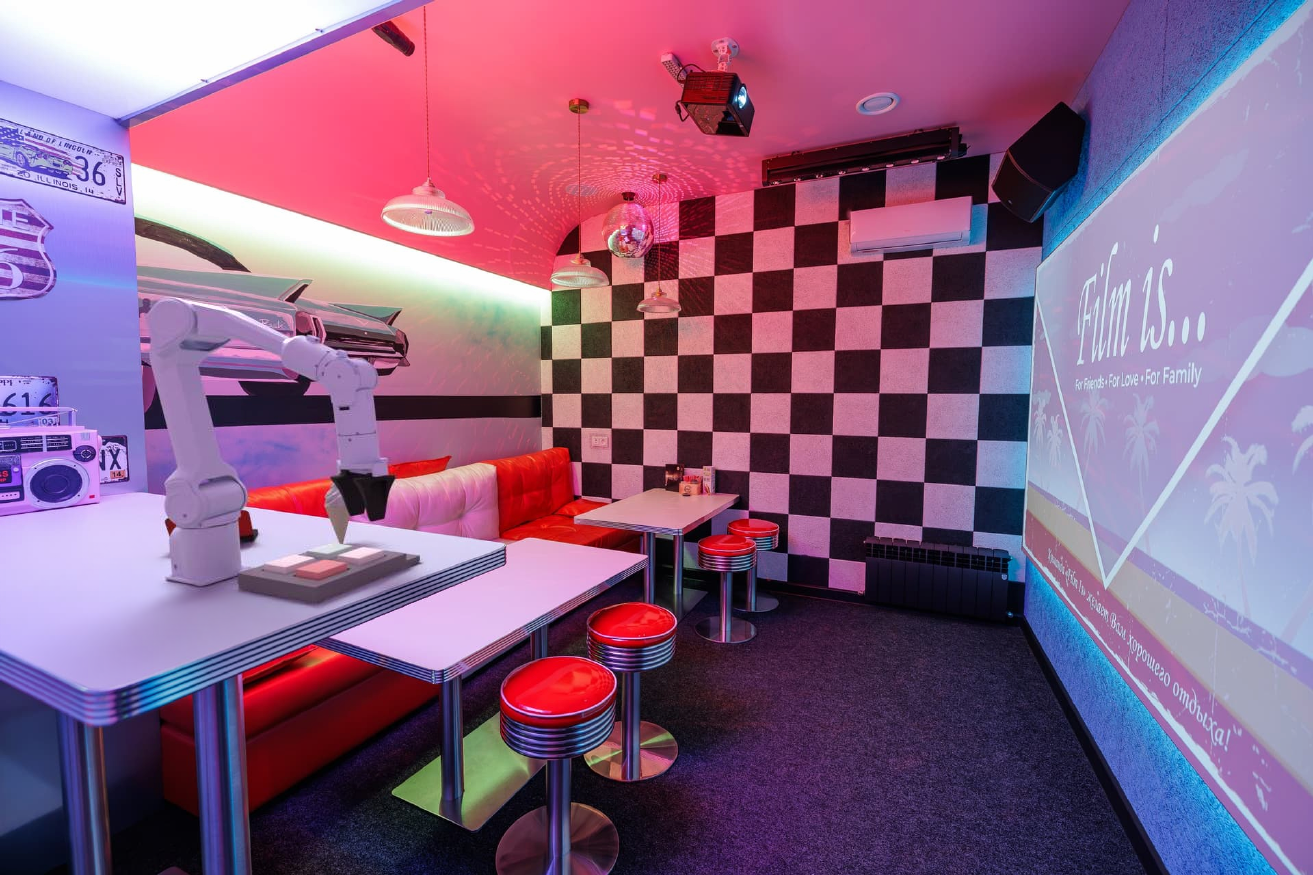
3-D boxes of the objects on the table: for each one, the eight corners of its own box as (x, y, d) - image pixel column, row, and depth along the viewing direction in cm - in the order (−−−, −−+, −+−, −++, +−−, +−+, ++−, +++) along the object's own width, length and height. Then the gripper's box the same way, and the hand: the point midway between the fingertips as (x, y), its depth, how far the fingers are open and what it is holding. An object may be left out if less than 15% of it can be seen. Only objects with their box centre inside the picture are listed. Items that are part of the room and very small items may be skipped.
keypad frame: (238, 588, 82) (237, 572, 82) (350, 551, 100) (350, 538, 100) (316, 604, 76) (314, 587, 76) (420, 562, 95) (419, 548, 94)
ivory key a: (264, 571, 83) (263, 563, 83) (294, 561, 88) (294, 554, 88) (285, 574, 82) (285, 567, 81) (315, 565, 86) (314, 557, 86)
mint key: (307, 557, 90) (306, 550, 90) (333, 549, 94) (332, 542, 94) (327, 560, 88) (327, 553, 88) (353, 552, 93) (353, 545, 93)
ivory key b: (337, 562, 87) (337, 555, 87) (362, 553, 92) (362, 547, 92) (359, 565, 86) (359, 558, 86) (384, 556, 90) (383, 550, 90)
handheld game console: (259, 533, 113) (256, 499, 113) (251, 546, 104) (248, 509, 103) (182, 542, 107) (178, 505, 106) (166, 557, 98) (163, 517, 97)
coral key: (295, 576, 81) (295, 569, 81) (325, 566, 85) (324, 559, 85) (318, 580, 79) (318, 572, 79) (347, 570, 84) (347, 562, 84)
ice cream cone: (346, 548, 102) (342, 471, 101) (320, 548, 102) (315, 471, 101) (361, 540, 107) (357, 467, 106) (336, 540, 107) (332, 467, 106)
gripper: (403, 431, 84) (412, 516, 85) (364, 431, 93) (373, 507, 94) (355, 436, 78) (366, 527, 80) (319, 435, 87) (329, 516, 89)
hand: (366, 517), depth 87 cm, fingers open, 7 cm apart
